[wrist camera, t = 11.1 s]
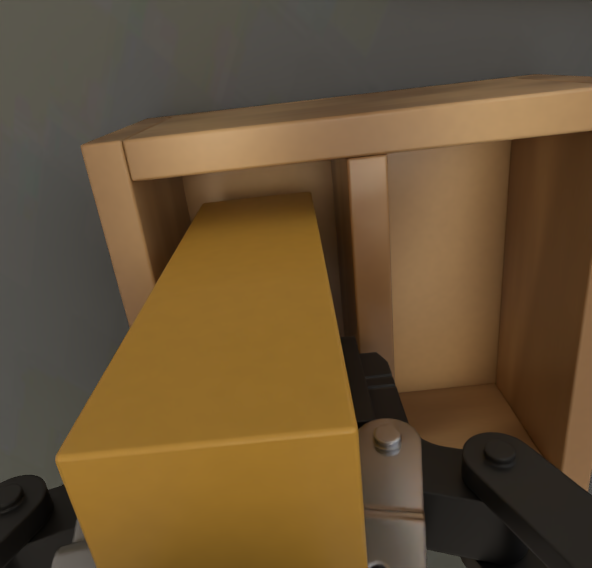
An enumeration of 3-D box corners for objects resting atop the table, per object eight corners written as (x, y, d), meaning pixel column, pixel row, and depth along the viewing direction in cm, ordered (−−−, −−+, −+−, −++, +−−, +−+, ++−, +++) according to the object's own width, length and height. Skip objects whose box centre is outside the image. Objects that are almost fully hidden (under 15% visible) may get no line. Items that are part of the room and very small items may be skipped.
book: (311, 190, 16) (359, 428, 5) (331, 401, 19) (384, 795, 9) (201, 202, 16) (50, 458, 6) (240, 410, 19) (189, 811, 9)
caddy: (536, 73, 17) (660, 79, 11) (511, 391, 22) (587, 501, 17) (145, 118, 17) (78, 145, 12) (210, 421, 23) (186, 538, 17)
